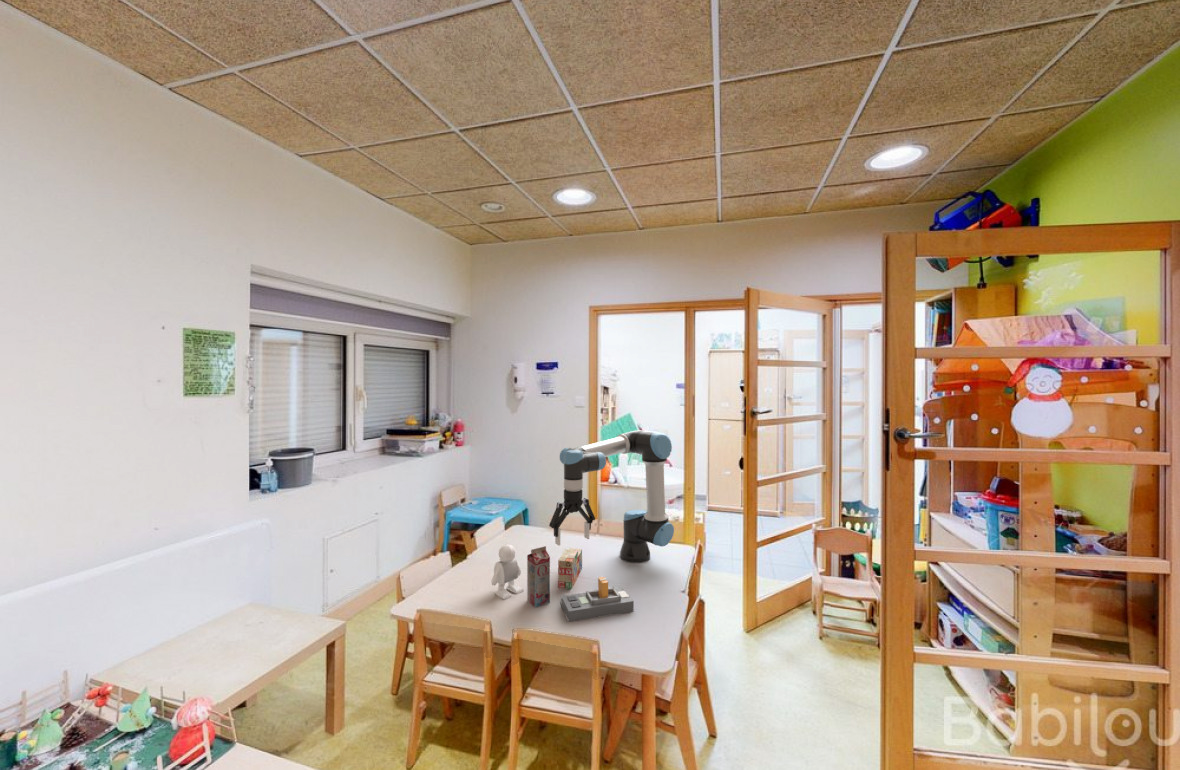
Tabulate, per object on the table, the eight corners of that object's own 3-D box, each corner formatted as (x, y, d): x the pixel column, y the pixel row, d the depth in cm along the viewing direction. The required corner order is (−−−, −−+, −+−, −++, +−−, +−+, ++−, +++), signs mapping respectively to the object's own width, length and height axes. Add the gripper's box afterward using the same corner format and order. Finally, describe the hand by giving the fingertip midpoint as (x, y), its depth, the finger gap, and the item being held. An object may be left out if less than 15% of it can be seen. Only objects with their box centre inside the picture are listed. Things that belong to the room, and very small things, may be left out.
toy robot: (499, 601, 184) (499, 552, 183) (487, 593, 190) (487, 546, 190) (526, 589, 194) (526, 543, 194) (514, 582, 200) (514, 537, 200)
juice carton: (549, 602, 183) (549, 548, 183) (535, 607, 179) (535, 552, 179) (541, 595, 189) (541, 543, 188) (527, 600, 185) (527, 547, 184)
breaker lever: (604, 593, 182) (604, 576, 182) (608, 599, 177) (608, 581, 177) (598, 594, 181) (598, 577, 181) (602, 600, 177) (602, 582, 176)
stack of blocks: (569, 567, 217) (569, 541, 216) (582, 568, 216) (582, 542, 215) (557, 588, 196) (558, 559, 195) (572, 589, 195) (572, 561, 194)
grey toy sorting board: (622, 596, 188) (622, 583, 188) (633, 611, 177) (633, 597, 177) (561, 605, 181) (561, 592, 180) (568, 621, 169) (568, 607, 169)
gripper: (593, 483, 193) (593, 532, 194) (541, 490, 180) (540, 544, 180) (603, 487, 187) (603, 538, 187) (550, 495, 173) (549, 550, 174)
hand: (572, 541), depth 184 cm, fingers open, 13 cm apart
